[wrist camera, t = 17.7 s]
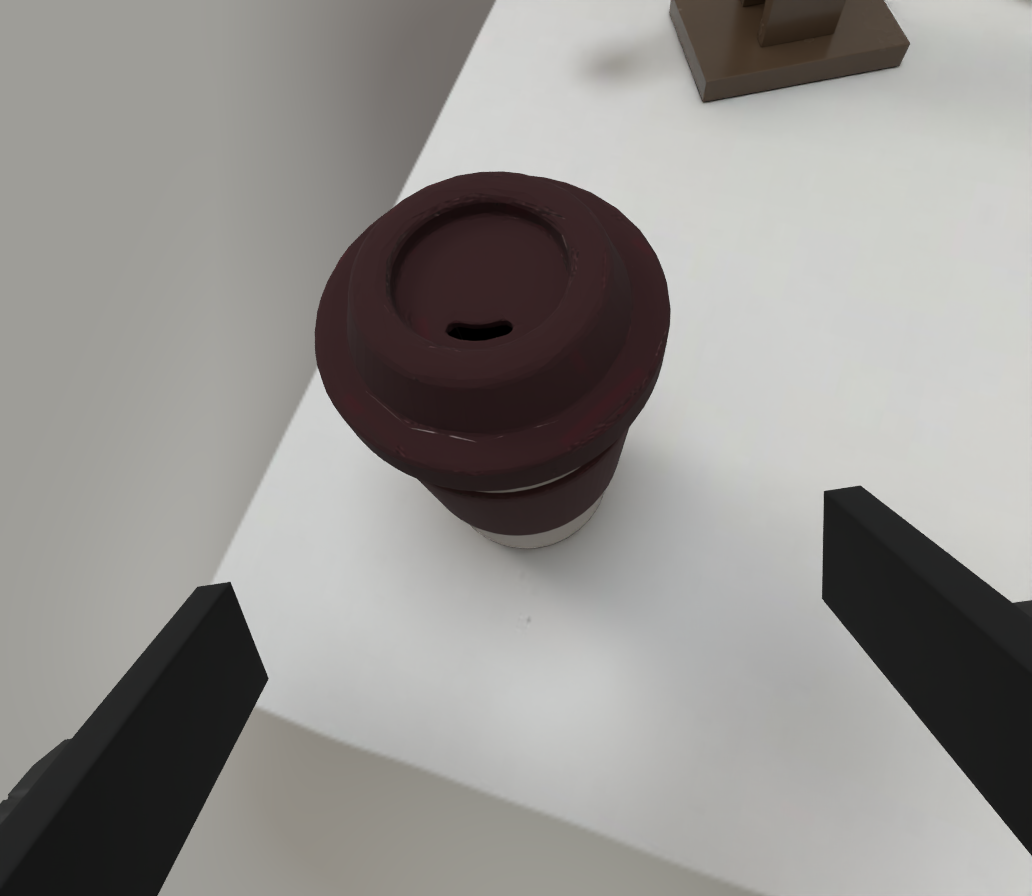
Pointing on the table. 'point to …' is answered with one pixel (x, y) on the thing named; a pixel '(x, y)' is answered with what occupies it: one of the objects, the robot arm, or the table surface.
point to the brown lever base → (783, 42)
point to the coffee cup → (497, 347)
